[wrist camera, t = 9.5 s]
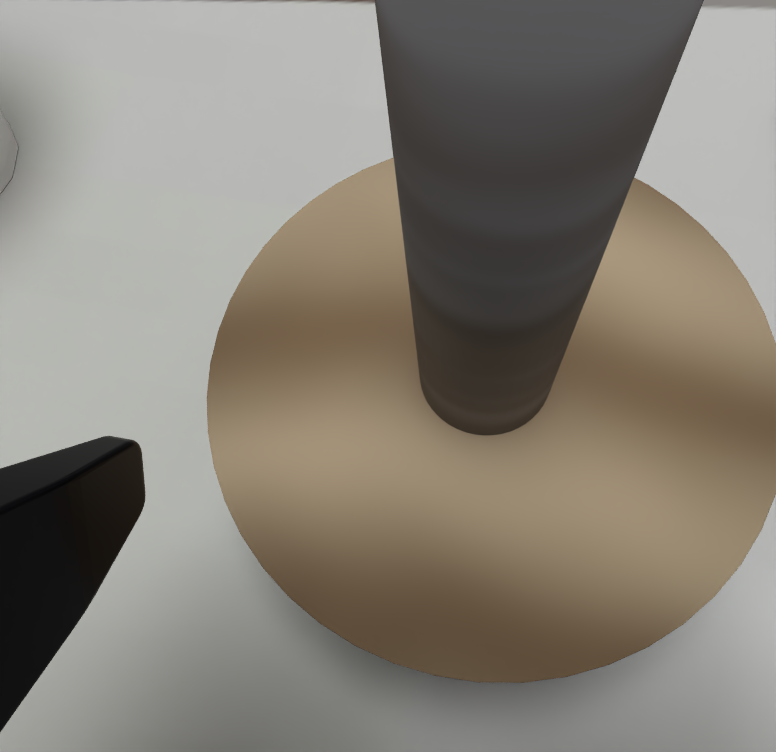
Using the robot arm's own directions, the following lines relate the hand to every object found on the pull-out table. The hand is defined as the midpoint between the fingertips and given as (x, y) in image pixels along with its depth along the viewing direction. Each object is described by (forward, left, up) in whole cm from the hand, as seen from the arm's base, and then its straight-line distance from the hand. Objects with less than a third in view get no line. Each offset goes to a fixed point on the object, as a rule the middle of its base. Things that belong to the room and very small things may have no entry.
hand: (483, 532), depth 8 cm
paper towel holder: (+4, 0, -7) cm, 9 cm away
